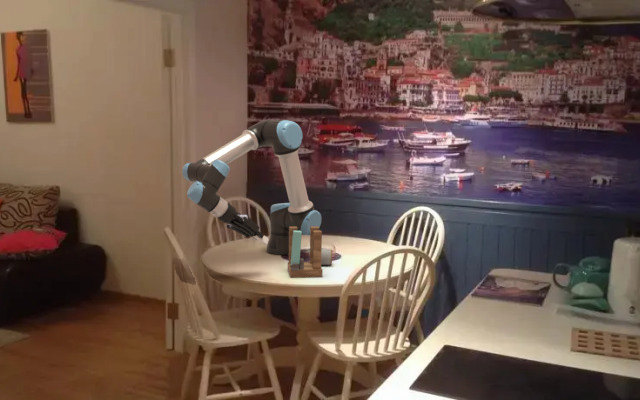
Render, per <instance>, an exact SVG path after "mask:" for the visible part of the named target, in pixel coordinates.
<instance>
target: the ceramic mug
mask: <svg viewBox="0 0 640 400" xmlns="http://www.w3.org/2000/svg"><path fill="white" fill-rule="evenodd" d="M332 264H333V250H332V249H331V248H327V247H325V248H323V247H322V249H321V266H331V265H332Z"/></svg>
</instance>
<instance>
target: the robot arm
mask: <svg viewBox="0 0 640 400" xmlns="http://www.w3.org/2000/svg"><path fill="white" fill-rule="evenodd" d="M303 138H304V137H303V131H302V128H301V126H300V125H299V124H298V123H296V122H295V121H292V120H286V119H283V120H278V119H265V120H262V121H259V122H257V123H255V124H254V125H252V126H249V127H247V128H246V129H244V130H243V131H242V133H241V135H239V136H237V137H236V138H234V139H233V140H231V141H229V142H227V143H226V144H224V145H222V146H220V147H219V148H218V149H216V150H215V151H213V152H210V153H209V154H207V155H206V156H204V157H203V158H201V159H199V160H197V161H196V162H187V163H185V164H184V165H183V167H182V170H181V171H182V174H181V175H182V177H183V178H184V179H185V180H186V181H188V182H192V184H191V185H190V186H189V188H188V190H187V192H186V196H187V198H188V199H189V200H190V201H192V202H193V203H194V204H196V205H198V207H200V208H202V209H203V210H205V211H206V212H208V213H209V214H211V215H212V216H213V217H214V218H217V220H219V221H220V222H222V223H223V224H226V228H227V229H231V230H232V231H235V232H236V233H238V234H241V236H244V237H246V238H249V237H250V238H253V239H255V240H257V241H258V242H260V243H261V244H263V245H264V246H266V252H267V253H269V254H272V255H277V256H278V255H279V256H280V255H281V256H282V255H283V256H285V255H288V256H289V227H293V226H297V231H301V232H302V236H310V226H318V227H319V228H320V227H321V224H322V214H321V213H320V212H319V211H318V210H317V209H315V207H314V203H313V202H312V201H311V200H309V196H308V193H307V187H306V184H305V179H304V175H303V170H302V166H301V162H300V157H299V154H298V152H299V151H300V150H301V148H300V146H301V144H302V142H303V141H302V140H303ZM263 147H272V150H273V151H272V152H273V155H274V156H276V157H277V158H278V160H279V161H278V162H279V164H280V169H281V173H282V178H283V181H284V185H285V189H286V193H287V198H288V201H289V202H284V203H283V202H282V203H275V204H272V205H271V206H270V212H269V214H270V215H269V220H270V221H269V222H270V225H269V229H270V233H269V238H268V237H267V236H266V235H264V233H262V232H260V226H259V225H258V224H257V223H256V222H255V221H254V220H253V219H252V218H251V217H250V216H249V214H248V213H244V214H241V213H240V212H238V211H237V210H236V207H235V206H233V204H231V203H229V202H228V201H227V200H225V199H224V198H223V197H221V196H219V195H218V192H219V190H220V187H221V186H222V185H223V183H225V181H226V178H227V177H228V174H229V173H230V171H231V168H230V166H229V164H230V163H232V162H233V161H235V160H237V159H238V158H240V157H241V156H243V155H245V154H247V153H248V152H250V151H255V150H257V149H258V148H259V149H260V148H263ZM227 179H228V178H227Z"/></svg>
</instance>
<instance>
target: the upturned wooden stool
mask: <svg viewBox="0 0 640 400" xmlns="http://www.w3.org/2000/svg"><path fill="white" fill-rule="evenodd" d="M293 230H294V231H297V226H293V227H289V254H288V261H287V272H288V275H289V277H290V278H291V279H294V278H295V279H297V278H307V279H308V278H323V268H322V265H321V249H322V248H323V247H322V245H323V243H322V242H323V241H322V240H323V239H322V237H323V231H322V230H320V227H318V226H310V235H309V241H310V242H309V261H305V259H304V257H300V263H299V264H292V266H291V253H292V240H293Z"/></svg>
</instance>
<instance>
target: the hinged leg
mask: <svg viewBox="0 0 640 400" xmlns="http://www.w3.org/2000/svg"><path fill="white" fill-rule="evenodd" d="M302 236H303V234H302V232H301V231H294V230H293V240H292V253H291V266H292V264H299V263H300V258H301V248H302Z"/></svg>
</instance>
